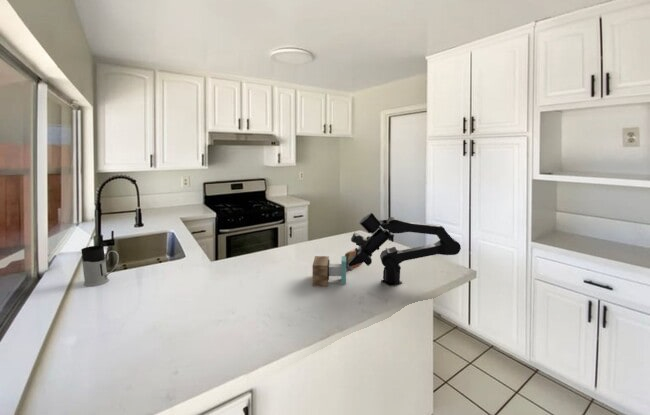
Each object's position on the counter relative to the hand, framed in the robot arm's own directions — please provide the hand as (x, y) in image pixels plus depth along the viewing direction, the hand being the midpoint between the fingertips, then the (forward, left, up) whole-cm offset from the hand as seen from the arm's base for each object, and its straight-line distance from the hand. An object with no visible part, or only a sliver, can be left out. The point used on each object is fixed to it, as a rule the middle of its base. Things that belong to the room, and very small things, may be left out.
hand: (348, 265), depth 136 cm
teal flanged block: (+4, +4, -7) cm, 9 cm away
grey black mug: (+60, +84, -7) cm, 104 cm away
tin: (+12, -14, -7) cm, 20 cm away
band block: (+7, +9, -7) cm, 14 cm away
